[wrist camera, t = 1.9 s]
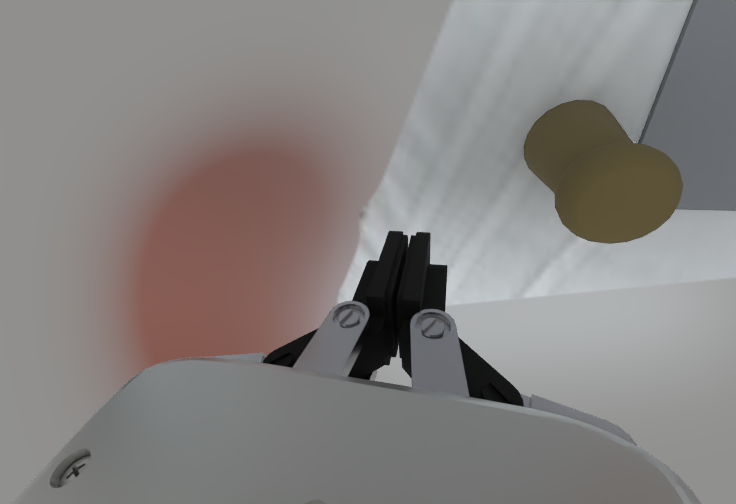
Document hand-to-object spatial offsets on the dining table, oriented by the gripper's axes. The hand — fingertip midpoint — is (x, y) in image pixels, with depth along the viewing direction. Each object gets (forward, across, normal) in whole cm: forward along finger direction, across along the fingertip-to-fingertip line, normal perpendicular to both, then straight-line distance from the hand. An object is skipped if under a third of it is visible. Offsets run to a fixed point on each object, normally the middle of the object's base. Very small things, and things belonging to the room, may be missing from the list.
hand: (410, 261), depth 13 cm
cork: (+16, -10, 0) cm, 19 cm away
